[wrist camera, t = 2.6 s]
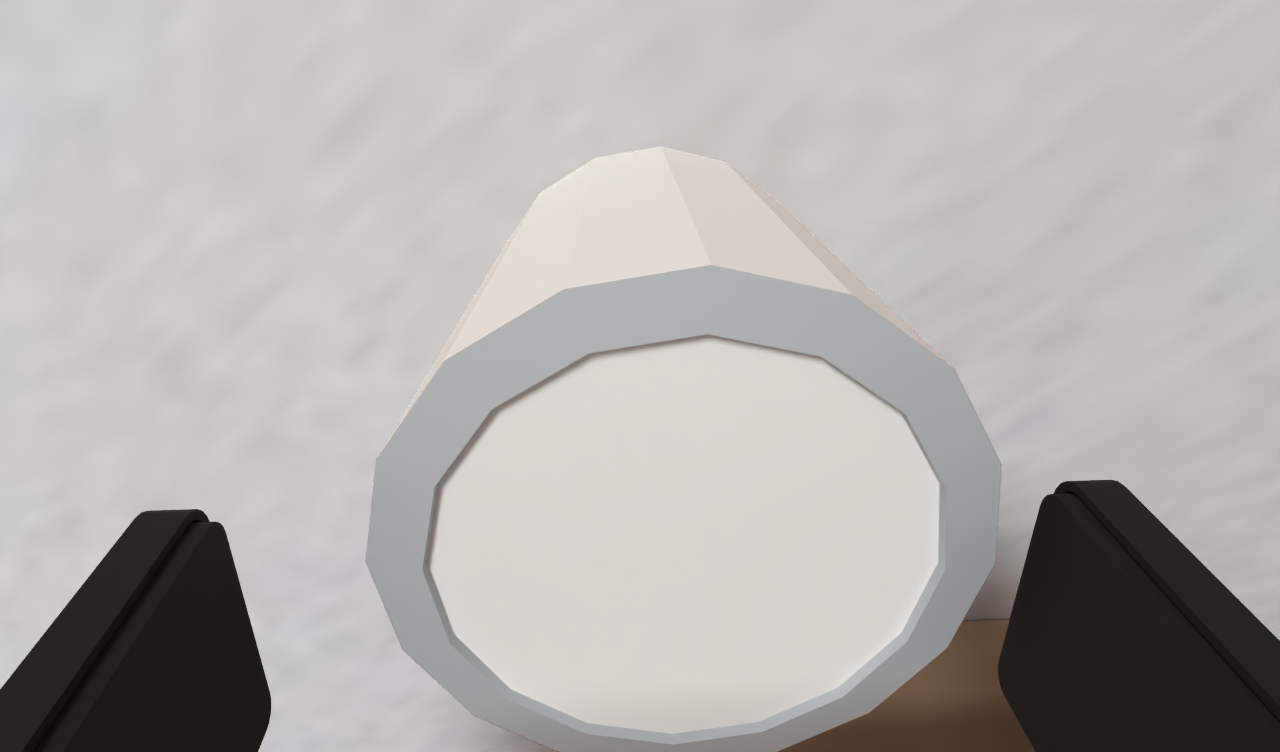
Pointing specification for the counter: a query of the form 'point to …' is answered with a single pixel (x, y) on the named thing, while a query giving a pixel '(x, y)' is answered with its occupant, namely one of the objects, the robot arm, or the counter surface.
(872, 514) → the white cup
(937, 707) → the walnut riser block
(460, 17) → the counter surface
